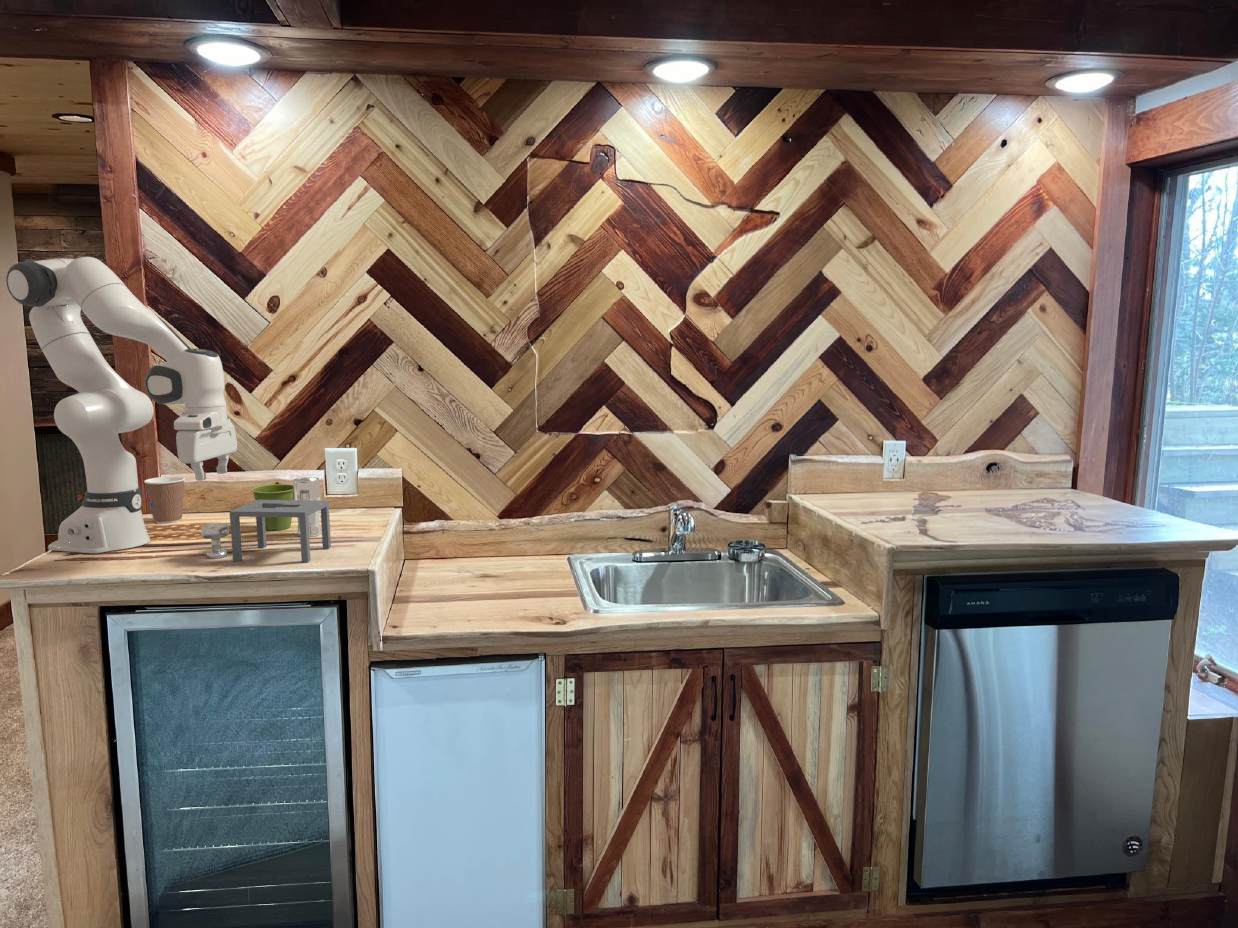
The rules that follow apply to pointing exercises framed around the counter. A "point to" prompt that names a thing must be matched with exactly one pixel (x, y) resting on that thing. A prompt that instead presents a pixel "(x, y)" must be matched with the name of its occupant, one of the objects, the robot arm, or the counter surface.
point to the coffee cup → (166, 498)
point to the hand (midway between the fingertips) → (211, 476)
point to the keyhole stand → (280, 509)
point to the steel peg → (215, 538)
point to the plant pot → (275, 494)
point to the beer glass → (308, 491)
